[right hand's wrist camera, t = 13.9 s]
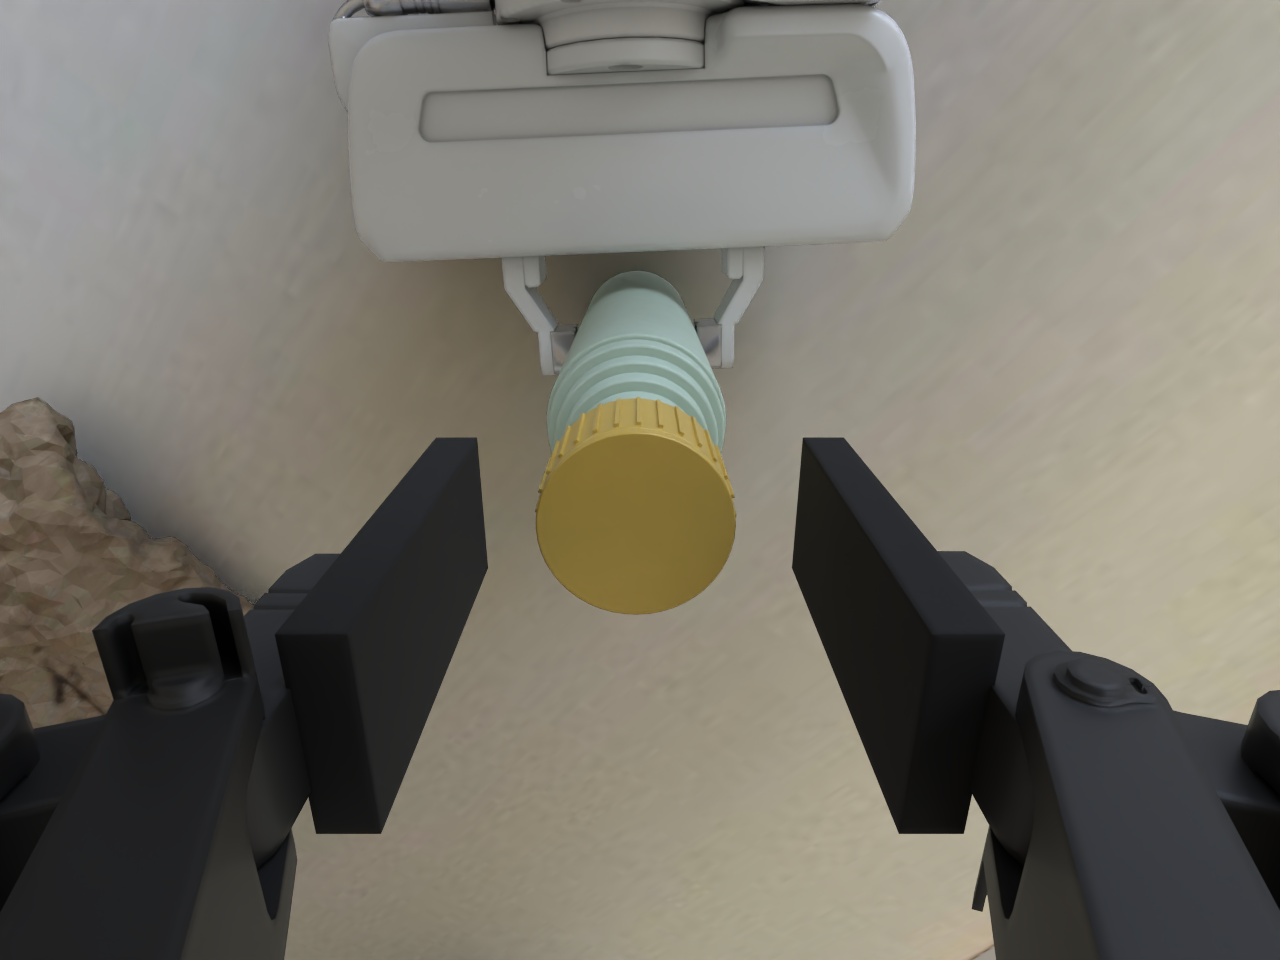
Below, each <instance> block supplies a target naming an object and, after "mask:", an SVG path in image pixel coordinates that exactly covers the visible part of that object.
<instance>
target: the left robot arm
mask: <svg viewBox="0 0 1280 960" xmlns="http://www.w3.org/2000/svg"><path fill="white" fill-rule="evenodd" d="M880 1H881V0H348V1H346V2H345V3H344V4H343V5H342V6H341V7H340V8H339V10H338V11H337V13H336V14H335V16H334V18H333V20H332V23H331V24H330V28H329V35H328V43H329V50H330V56H331V62H332V68H333V74H334V81H335V86H336V90H337V93H338V96H339V98H340V101H341V103H342V104H343V106H344V108H345V109H346V111H347V112H348V152H349V172H350V185H351V197H352V206H353V215H354V221H355V227H356V231H357V234H358V236H359V238H360V239H361V241H362V242H363V243H364V244H365V245H366V246H367V247H368V248H369V249H370V250H371V251H372V252H373V253H374V254H375V255H376V256H377V257H378V258H379V259H380V260H381V261H383V262H408V261H432V260H456V259H479V258H501V262H502V271H503V281H504V289H505V291H506V292H507V294H508V295H509V297H510V298H511V299H512V301H513V302H514V304H515V305H516V307H517V308H518V309H519V311H520V312H521V314H522V315H523V317H524V318H525V320H526V321H527V322H528V324H529V325H530V327H531V328H532V330H533V331H534V332H538V343H539V354H540V365H541V371H542V375H559V373H560V370H561V368H562V366H563V364H564V361H565V359H566V357H567V354H568V352H569V350H570V348H571V345H572V343H573V341H574V338H575V336H576V334H577V332H578V324H559V325H558V322H557V321H556V319H555V317H554V316H553V314H552V313H551V311H550V310H549V308H548V307H547V305H546V303H545V302H544V300H543V299H542V297H541V296H540V294H539V292H538V291H537V289H536V288H535V287H538V286H539V285H540V284H541V283H542V282H543V281H544V280H545V279H546V265H545V256H550V255H574V254H598V253H621V252H645V251H669V250H692V249H716V248H721V255H722V272H723V273H724V274H725V275H726V276H728V277H729V278H730V279H733V281H732V283H731V285H730V287H729V289H728V290H727V292H726V294H725V296H724V298H723V300H722V302H721V304H720V305H719V307H718V309H717V311H716V313H715V315H714V318H708V319H694V329H695V331H696V333H697V336H698V338H699V340H700V343H701V345H702V347H703V350H704V352H705V354H706V357H707V359H708V361H709V364H710V366H711V368H733V364H734V324H738V322H739V320H740V319H741V317H742V315H743V314H744V312H745V310H746V308H747V307H748V305H749V303H750V302H751V300H752V298H753V296H754V295H755V293H756V291H757V289H758V288H759V286H760V284H761V283H762V281H763V279H764V249H765V246H787V245H811V244H834V243H858V242H880V241H886V240H887V239H889V238H890V237H891V236H892V235H893V234H894V232H895V231H896V230H897V229H898V228H899V226H900V225H901V224H902V222H903V221H904V220H905V218H906V217H907V216H908V214H909V212H910V209H911V205H912V199H913V190H914V177H915V154H916V118H915V93H914V76H913V66H912V60H911V55H910V51H909V47H908V44H907V41H906V39H905V37H904V35H903V33H902V31H901V29H900V27H899V26H898V25H897V24H896V22H895V21H894V20H893V19H892V18H891V17H890V16H889V15H887V14H886V13H884V12H883V11H881V10H879V9H877V8H874V7H875V6H876V5H877V4H878V3H879V2H880ZM363 8H365V10H366V12H367V14H368V15H369V16H373V17H356V18H350V17H351V16H352V15H353V14H354V13H356V12H357V11H359V10H361V9H363ZM494 9H495V12H496V15H495V14H494ZM419 13H420V15H411V14H419ZM427 13H428V14H427ZM497 24H498V25H497Z"/></svg>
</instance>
